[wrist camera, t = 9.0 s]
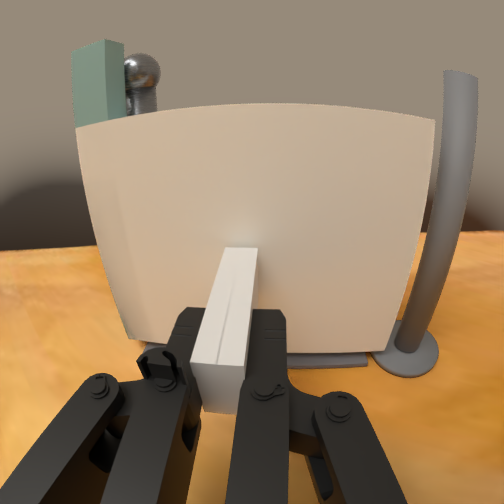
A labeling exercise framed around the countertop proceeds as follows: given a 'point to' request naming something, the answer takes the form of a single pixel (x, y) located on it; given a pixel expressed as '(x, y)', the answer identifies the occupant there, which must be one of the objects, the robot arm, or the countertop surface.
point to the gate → (273, 206)
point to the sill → (387, 359)
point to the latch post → (141, 83)
